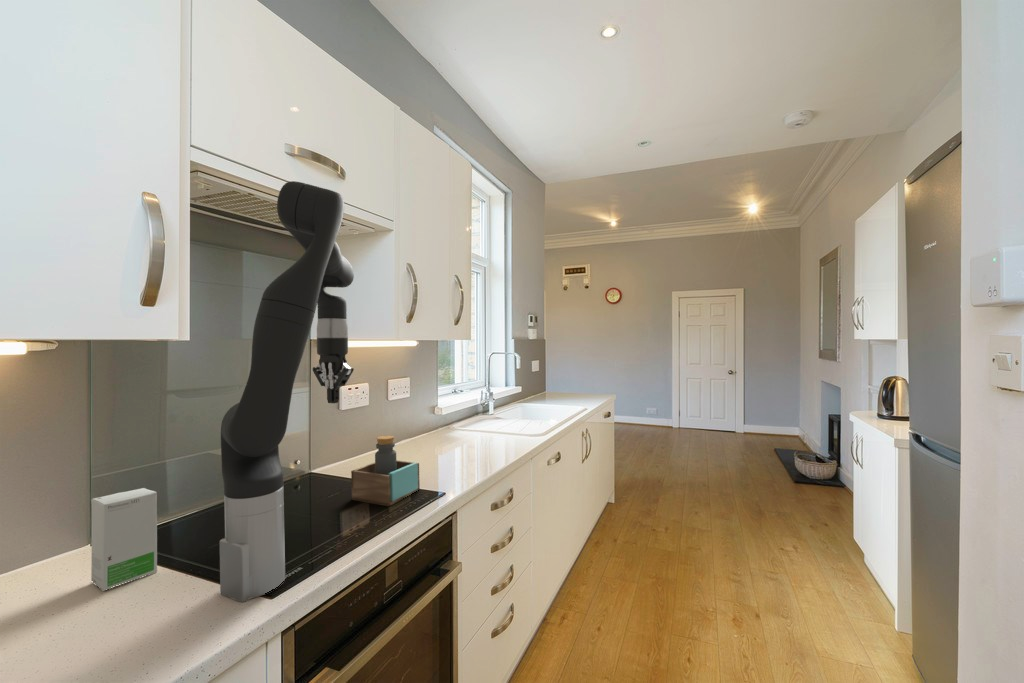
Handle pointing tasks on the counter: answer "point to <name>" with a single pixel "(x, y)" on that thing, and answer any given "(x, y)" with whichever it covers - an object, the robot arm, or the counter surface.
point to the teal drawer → (403, 481)
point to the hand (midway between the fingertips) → (333, 402)
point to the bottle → (385, 455)
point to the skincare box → (123, 537)
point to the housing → (375, 485)
